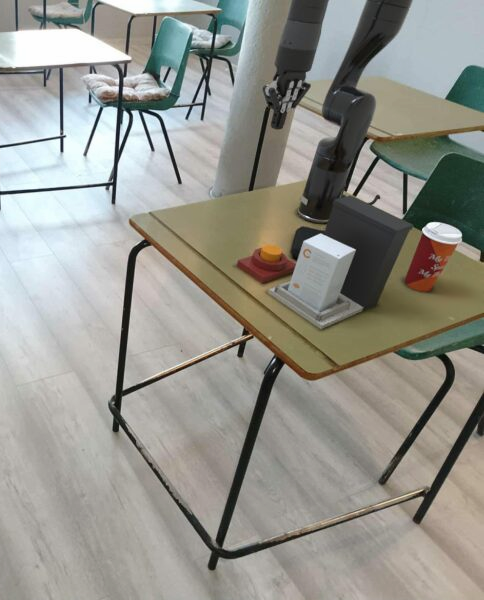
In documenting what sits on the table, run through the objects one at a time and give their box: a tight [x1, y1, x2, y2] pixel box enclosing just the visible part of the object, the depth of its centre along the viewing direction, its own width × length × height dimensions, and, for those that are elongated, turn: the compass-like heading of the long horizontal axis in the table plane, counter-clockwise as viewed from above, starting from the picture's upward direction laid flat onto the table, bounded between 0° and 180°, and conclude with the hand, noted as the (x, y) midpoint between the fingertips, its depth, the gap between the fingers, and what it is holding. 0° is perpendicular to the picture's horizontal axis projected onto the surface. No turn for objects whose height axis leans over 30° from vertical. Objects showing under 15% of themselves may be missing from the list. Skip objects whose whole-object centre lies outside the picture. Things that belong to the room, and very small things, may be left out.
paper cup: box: [404, 221, 463, 293], centre depth 123 cm, size 8×8×14 cm
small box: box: [288, 233, 356, 312], centre depth 114 cm, size 8×6×13 cm
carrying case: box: [289, 225, 325, 260], centre depth 136 cm, size 11×3×15 cm
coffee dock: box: [267, 195, 414, 330], centre depth 115 cm, size 18×14×19 cm
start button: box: [260, 244, 283, 262], centre depth 126 cm, size 4×4×2 cm
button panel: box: [236, 247, 296, 285], centre depth 128 cm, size 11×8×4 cm
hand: (276, 128), depth 126 cm, fingers closed
